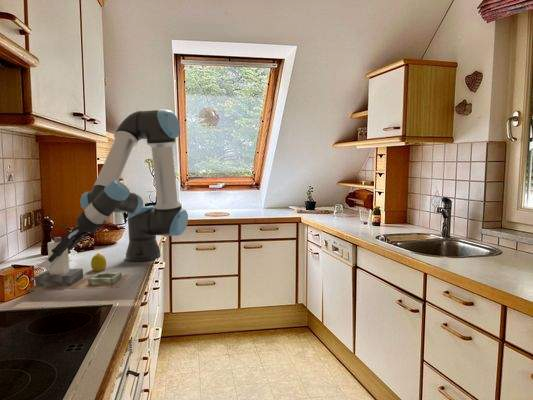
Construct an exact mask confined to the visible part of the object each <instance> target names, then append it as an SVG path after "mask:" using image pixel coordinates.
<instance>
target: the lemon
mask: <svg viewBox="0 0 533 400" xmlns="http://www.w3.org/2000/svg"><path fill="white" fill-rule="evenodd" d="M90 267H91V269H92V271H93V272H102V271H104V270H105V269H106V267H107V259H106V257H105V256H104V255H103V254H100V253H99V252H98V253H97V254H95V255H93V257H92V258H91V261H90Z"/></svg>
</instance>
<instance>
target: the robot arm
mask: <svg viewBox="0 0 533 400" xmlns="http://www.w3.org/2000/svg"><path fill="white" fill-rule="evenodd" d="M180 129H181V128H180V122H179V120H178V117H177V115H176V114H175V113H174V112H173V111H172V110H170V109H157V110H155V109H154V110H137V111H135V112H132V113H130V114H129V115H128V116H126V118H124V119H123V121H121V123H120V124H119V125H118V126H117V128H116V130H115V133H114V135H113V137H114V141H113V144H112V145H111V147H110V150H109V152H108V154H107V156H106V158H105V161H104V163H103V165H102V167H101V170H100V171H99V173H98V176H97V178H96V180H95V182H94V185H93V187H92V189H91V191H85V192H84V193H82V195H81V197H80V199H79V200H80V201H79V202H80V206H81V208H82V209H83V210H84V211H82V212H81V213H80V214H79V215H78V216H77V218H76V223H77V226H74V227H73V228H72V229H71V231H68V232H67V234H65V236H64V237H63V238H61V242H60V243H59V244H58V245H57V246H56V247H55V248H54V249H52V254H51V255H50V256H49V257H48V256H47V258H46V259H45V260H44V261H43V262H42V263H41V267H43V268H44V269H45V271H47V270H49V268H50V267H51V266H52V265H53V264H54V263H55V262H56V261H57V259H58V258H59V257H60V255H61V254H62V253H63V252H64V251H65V250H66V249H67V248H68V255H70V254H71V253H72V252H71V251H72V250H73V249H75V247H77V245H78V244H79V243H80V241H82V240H83V239H84V238H85V236H86V235H87V234H89V233H90V234H91V233H92V234H93V233H95V232H96V231H97V230H98V229H99V228H100V227H101V225H102V224H103V223H104V222H108V221H109V217H110V216H111V215H113V213H127V225H128V227H127V228H128V245H127V248H126V253H125V260H126V261H128V260H129V262H149V261H154V260H157V259H159V258H161V256H162V254H161V249H160V247H159V245H158V241H157V236H162V237H163V236H166V237H167V236H170V237H174V236H175V237H178V236H181V235H183V234H184V233H185V231H186V229H187V226H188V222H189V214H188V211H187V210H186V209H184V208H183V207H182V203H181V202H180V201H179V200H178V191H177V183H176V182H177V181H176V171H175V162H174V161H175V159H174V152H173V151H174V150H173V146H174V145H175V143H176V139H177V138H178V137H179V135H180ZM141 140H146V142H147V143H146V144H147V145H148V146H149V147H150V148H151V156H152V164H153V172H154V173H153V175H154V182H155V183H154V184H155V185H154V186H155V190H156V191H155V192H156V200H157V201H156V202H157V203H156V204H155V205H147V206H144V201H143V198H142V196H140V195H139V194H137V193H135V192H131V191H130V189H129V188H128V187H127V186H126V184H124V183H123V182H121V181H120V178H121V176H122V174H123V172H124V169H125V167H126V164H127V162H128V160H129V157H130V155H131V153H132V150H133V148H134V147H136V146H138V142H139V141H141Z"/></svg>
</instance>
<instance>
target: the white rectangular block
mask: <svg viewBox="0 0 533 400" xmlns="http://www.w3.org/2000/svg"><path fill="white" fill-rule="evenodd" d="M61 241H62V237H61V236H57V237H56V236H55V237H53V240H52V241H50V242H49V241H48V242H47V253H48V255H47V258H48V257H49V256H50V255H51V254H52V249H54V248H55V247H56V246H57V245H58V244H59V243H60V242H61ZM69 257H70V256H69V254H68V248H67V249H66V250H65V251H64V252H63V253H62V254H61V255H60V257H59V258H58V259H57V261H56V262H55V263H54V264H53V265H52V266H51V267H50V268H49V269H48V270H49V272H50V275H59V274H67V273H68V272H69V269H70V262H69V261H70V260H69Z"/></svg>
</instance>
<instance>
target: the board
mask: <svg viewBox="0 0 533 400" xmlns="http://www.w3.org/2000/svg"><path fill="white" fill-rule="evenodd" d="M132 276H133V274H123V273H122V272H97V273H95V274H94V275H84V268H82V267H81V268H69V272H68V273H67V274H59V275H50V272H49V269H48V270H44V271H43V272H41V273H39V274H37V275H35V276H34V285H33V286H34V287H33V286H32V287H33V288H31V287H30V289H29V288H27V293H28V292H29V294H31V293H33V292H34V291H36V290H77V289H79V290H81V289H82V290H83V289H87V290H88V289H118V288H119V287H120V286H121V285H123V284H124V283H125V282H126V281H128V280H129V279H130V278H131V277H132Z"/></svg>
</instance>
